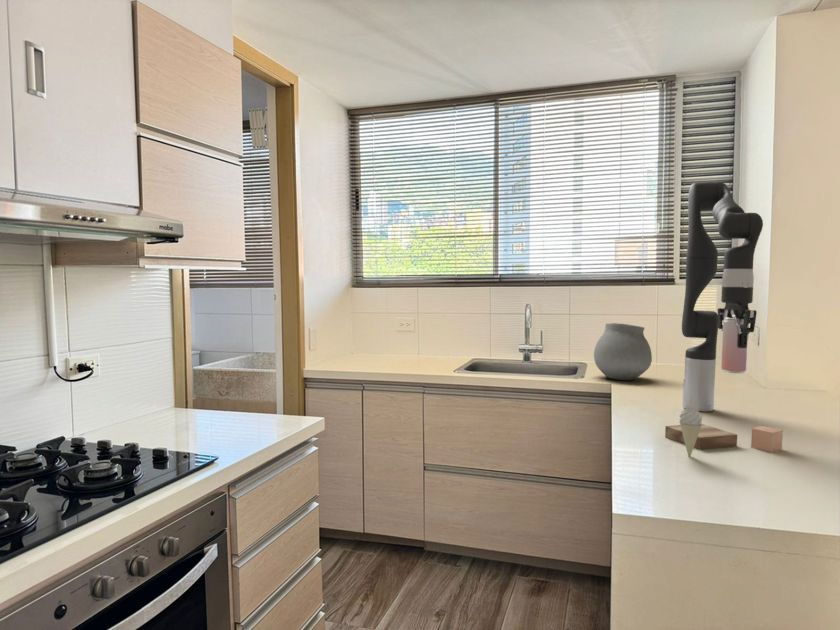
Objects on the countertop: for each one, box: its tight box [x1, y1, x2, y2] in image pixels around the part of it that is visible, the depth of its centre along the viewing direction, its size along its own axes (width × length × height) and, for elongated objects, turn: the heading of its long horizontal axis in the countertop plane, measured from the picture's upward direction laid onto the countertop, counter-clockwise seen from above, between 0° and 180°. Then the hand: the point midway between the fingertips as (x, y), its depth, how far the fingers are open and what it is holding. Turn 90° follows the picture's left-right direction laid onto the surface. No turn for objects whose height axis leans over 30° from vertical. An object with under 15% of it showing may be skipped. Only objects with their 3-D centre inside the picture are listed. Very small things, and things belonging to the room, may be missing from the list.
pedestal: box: [664, 423, 738, 450], centre depth 147 cm, size 12×12×3 cm
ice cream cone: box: [678, 395, 704, 458], centre depth 134 cm, size 5×5×15 cm
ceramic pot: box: [593, 322, 653, 381], centre depth 249 cm, size 24×24×25 cm
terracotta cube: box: [750, 425, 784, 453], centre depth 142 cm, size 5×5×5 cm
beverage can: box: [720, 318, 749, 374], centre depth 154 cm, size 6×6×15 cm
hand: (734, 346), depth 154 cm, fingers closed on beverage can, 6 cm apart
